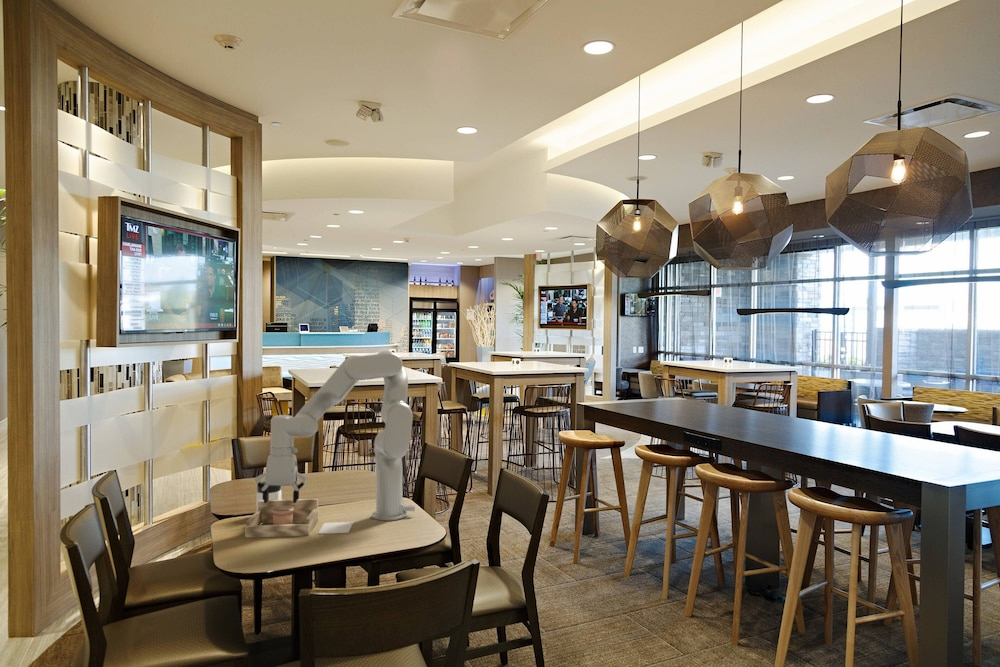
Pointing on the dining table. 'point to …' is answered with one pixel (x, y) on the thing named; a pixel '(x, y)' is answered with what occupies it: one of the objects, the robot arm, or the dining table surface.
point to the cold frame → (302, 514)
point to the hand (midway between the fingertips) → (280, 501)
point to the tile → (336, 528)
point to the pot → (283, 515)
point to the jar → (274, 493)
